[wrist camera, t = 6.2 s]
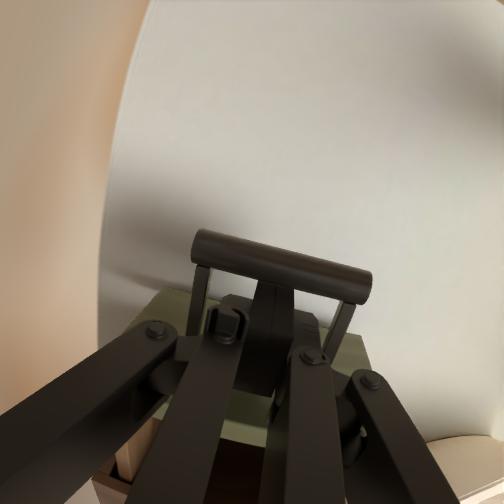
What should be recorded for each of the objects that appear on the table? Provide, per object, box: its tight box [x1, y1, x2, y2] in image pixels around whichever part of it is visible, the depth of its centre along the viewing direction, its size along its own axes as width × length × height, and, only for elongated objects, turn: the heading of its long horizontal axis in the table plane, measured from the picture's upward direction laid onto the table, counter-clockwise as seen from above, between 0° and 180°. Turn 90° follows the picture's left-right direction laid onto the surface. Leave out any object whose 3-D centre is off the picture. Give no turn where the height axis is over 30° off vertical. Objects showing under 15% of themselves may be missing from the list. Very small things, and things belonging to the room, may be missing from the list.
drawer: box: [115, 228, 372, 504], centre depth 16 cm, size 20×12×9 cm, turn 167°
